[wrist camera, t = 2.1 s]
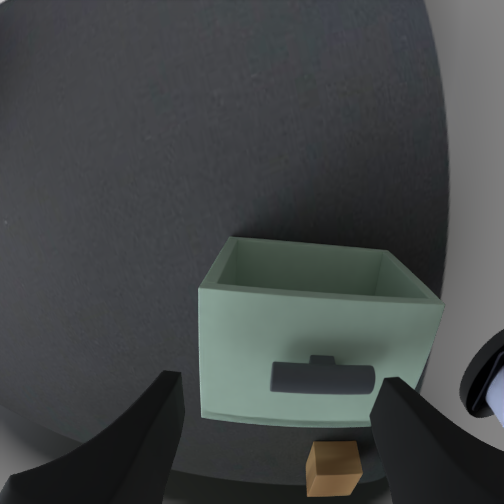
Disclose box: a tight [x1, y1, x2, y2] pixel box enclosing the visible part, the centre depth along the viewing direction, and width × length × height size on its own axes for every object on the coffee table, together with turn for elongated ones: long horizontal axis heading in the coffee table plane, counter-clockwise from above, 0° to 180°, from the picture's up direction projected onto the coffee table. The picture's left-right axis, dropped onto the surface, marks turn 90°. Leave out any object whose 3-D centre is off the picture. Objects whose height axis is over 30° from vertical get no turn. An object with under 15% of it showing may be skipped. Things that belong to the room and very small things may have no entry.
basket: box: [199, 236, 445, 427], centre depth 15 cm, size 10×10×7 cm
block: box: [306, 441, 363, 497], centre depth 23 cm, size 4×4×4 cm
